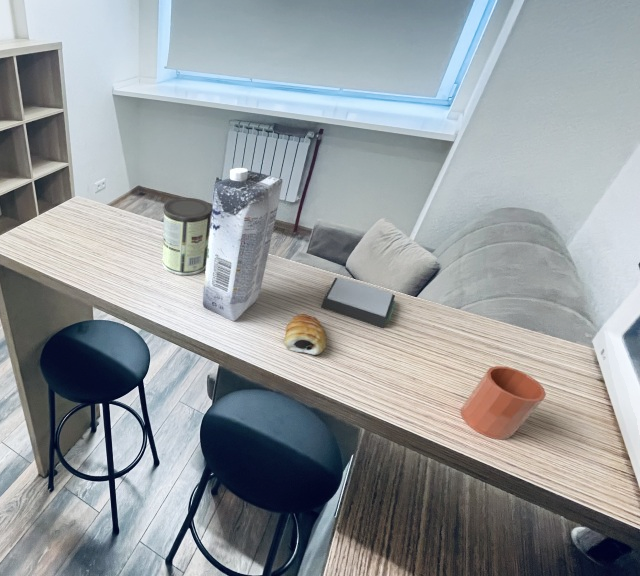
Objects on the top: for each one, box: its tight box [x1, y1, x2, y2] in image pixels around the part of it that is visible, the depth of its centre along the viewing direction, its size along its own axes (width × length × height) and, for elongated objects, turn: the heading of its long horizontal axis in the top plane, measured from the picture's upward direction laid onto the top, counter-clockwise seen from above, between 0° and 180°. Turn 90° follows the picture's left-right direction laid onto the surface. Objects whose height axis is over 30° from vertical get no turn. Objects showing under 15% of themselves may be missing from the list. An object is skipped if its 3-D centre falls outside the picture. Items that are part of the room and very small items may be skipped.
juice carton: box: [202, 167, 284, 322], centre depth 73 cm, size 9×10×27 cm
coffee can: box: [161, 197, 213, 276], centre depth 90 cm, size 10×10×14 cm
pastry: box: [283, 313, 327, 356], centre depth 72 cm, size 9×7×4 cm
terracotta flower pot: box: [460, 365, 547, 440], centre depth 56 cm, size 6×6×8 cm
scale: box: [320, 276, 397, 329], centre depth 79 cm, size 11×9×3 cm
